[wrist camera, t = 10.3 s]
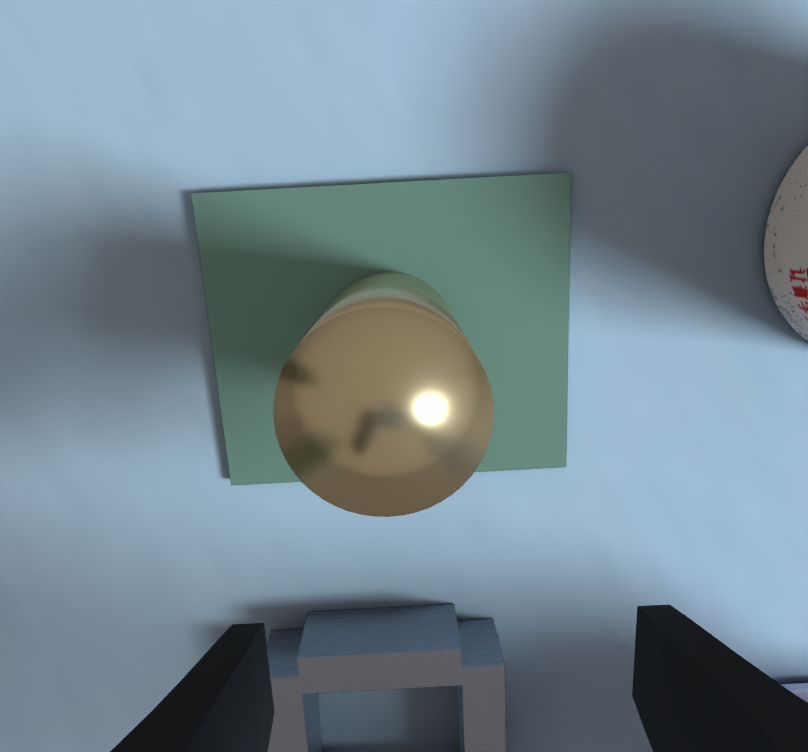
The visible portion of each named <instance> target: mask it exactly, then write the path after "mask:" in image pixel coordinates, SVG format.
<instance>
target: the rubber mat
mask: <svg viewBox="0 0 808 752" xmlns="http://www.w3.org/2000/svg"><path fill="white" fill-rule="evenodd" d="M191 197H192V204H193V212H194V219H195V226H196V234H197V241H198V248H199V255H200V263H201V270H202V277H203V284H204V292H205V299H206V306H207V313H208V321H209V328H210V335H211V342H212V350H213V357H214V364H215V372H216V379H217V386H218V393H219V401H220V408H221V415H222V422H223V430H224V437H225V444H226V451H227V459H228V466H229V473H230V480H231V485H249V484H267V483H285V482H301V480H300V479H299V478H298V477H297V476H296V475H295V473H294V472H293V471H292V469H291V468H290V466H289V465H288V463H287V461H286V460H285V458H284V455H283V453H282V451H281V449H280V447H279V443H278V440H277V437H276V433H275V427H274V421H273V403H274V394H275V390H276V386H277V382H278V379H279V376H280V374H281V371H282V369H283V367H284V365H285V363H286V362H287V360H288V358H289V356H290V355H291V353H292V352H293V351H294V350H295V348H296V347H297V346H298V344H299V343H300V342H301V341H302V339H303V338H304V337H305V336H306V334H307V333H308V332H309V331H310V329H311V328H312V327H313V326H314V324H315V323H316V322H317V321H318V319H319V318H320V317H321V316H322V315H323V313H324V312H325V311H326V310H327V308H328V307H329V306H330V305H331V303H332V302H333V301H334V300H335V298H336V297H337V296H338V295H339V293H340V292H341V291H342V290H344V289H345V288H346V287H347V286H348V285H350V284H351V283H352V282H354V281H356V280H358V279H360V278H362V277H364V276H367V275H370V274H374V273H379V272H399V273H405V274H408V275H411V276H414V277H416V278H419V279H421V280H423V281H424V282H426V283H427V284H429V285H430V286H431V287H433V288H434V289H435V290H436V291H437V292H438V293H439V294H440V295H441V296H442V298H443V299H444V300H445V302H446V303H447V305H448V307H449V308H450V310H451V312H452V314H453V315H454V317H455V319H456V321H457V322H458V324H459V326H460V328H461V329H462V331H463V333H464V334H465V336H466V338H467V340H468V341H469V343H470V345H471V347H472V348H473V350H474V352H475V354H476V355H477V357H478V359H479V361H480V362H481V364H482V366H483V368H484V370H485V372H486V375H487V378H488V380H489V383H490V386H491V391H492V396H493V405H494V420H493V429H492V434H491V438H490V442H489V444H488V447H487V450H486V453H485V455H484V457H483V459H482V460H481V462H480V464H479V466H478V467H477V469H476V470H475V472H486V471H504V470H523V469H541V468H559V467H566V451H567V391H568V331H569V271H570V211H571V172H569V173H551V174H533V175H515V176H497V177H479V178H461V179H442V180H424V181H406V182H388V183H370V184H352V185H334V186H316V187H298V188H280V189H262V190H244V191H226V192H207V193H191Z"/></svg>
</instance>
